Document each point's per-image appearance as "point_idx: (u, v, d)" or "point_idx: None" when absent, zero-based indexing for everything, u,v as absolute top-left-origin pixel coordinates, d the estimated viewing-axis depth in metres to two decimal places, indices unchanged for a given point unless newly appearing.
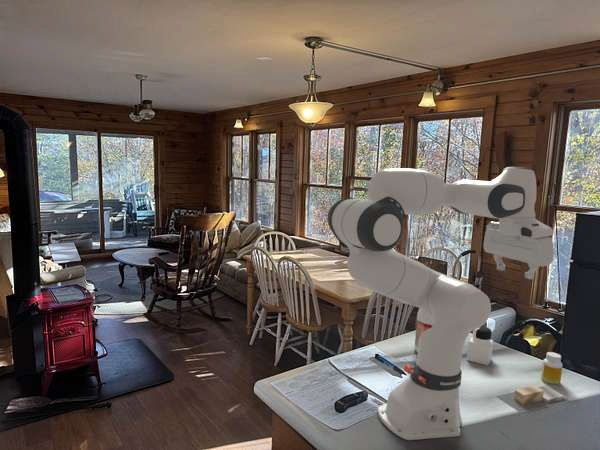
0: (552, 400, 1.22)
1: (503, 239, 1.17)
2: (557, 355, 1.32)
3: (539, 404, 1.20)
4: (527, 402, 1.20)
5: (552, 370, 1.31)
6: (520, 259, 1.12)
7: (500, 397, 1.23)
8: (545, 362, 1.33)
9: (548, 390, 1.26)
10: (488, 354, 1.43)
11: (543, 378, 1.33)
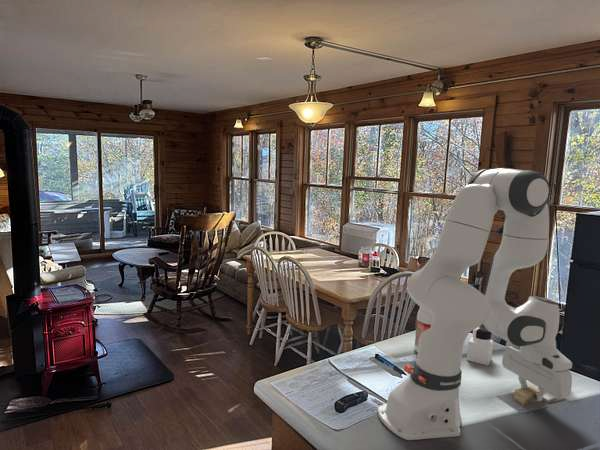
0: (552, 400, 1.22)
1: (522, 360, 1.23)
2: None
3: (539, 404, 1.20)
4: (527, 402, 1.20)
5: None
6: (539, 385, 1.18)
7: (500, 397, 1.23)
8: None
9: None
10: (488, 354, 1.43)
11: None
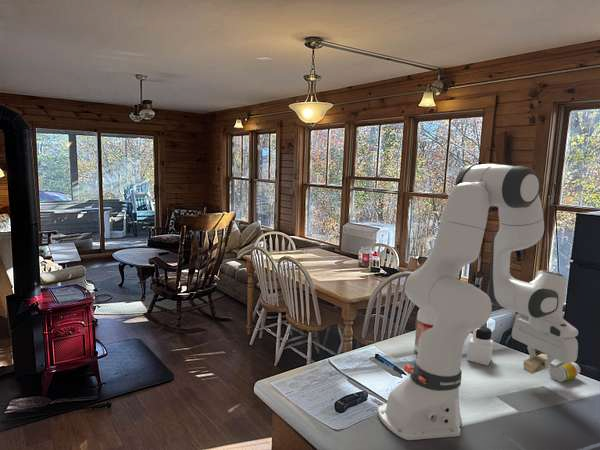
0: (559, 365, 1.30)
1: (531, 331, 1.32)
2: None
3: (539, 404, 1.20)
4: (536, 370, 1.28)
5: (571, 366, 1.36)
6: (547, 352, 1.26)
7: (500, 397, 1.23)
8: None
9: None
10: (488, 354, 1.43)
11: None
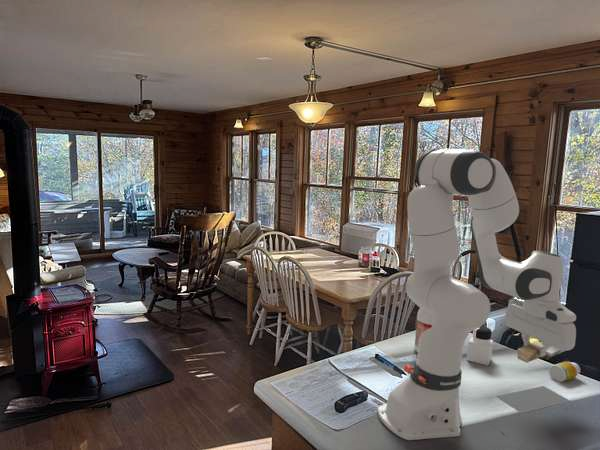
0: (556, 353, 1.21)
1: (525, 316, 1.22)
2: None
3: (539, 404, 1.20)
4: (531, 359, 1.19)
5: (571, 366, 1.36)
6: (542, 339, 1.17)
7: (500, 397, 1.23)
8: None
9: None
10: (488, 354, 1.43)
11: (557, 364, 1.36)
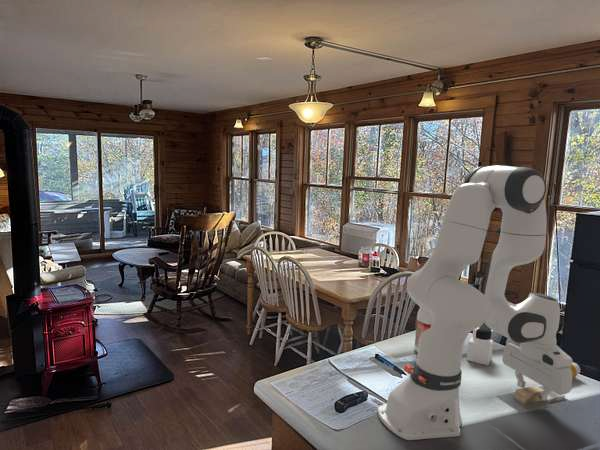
0: (553, 400, 1.22)
1: (523, 357, 1.23)
2: None
3: (539, 404, 1.20)
4: (528, 402, 1.20)
5: (571, 366, 1.36)
6: (539, 382, 1.18)
7: (500, 397, 1.23)
8: None
9: None
10: (488, 354, 1.43)
11: None
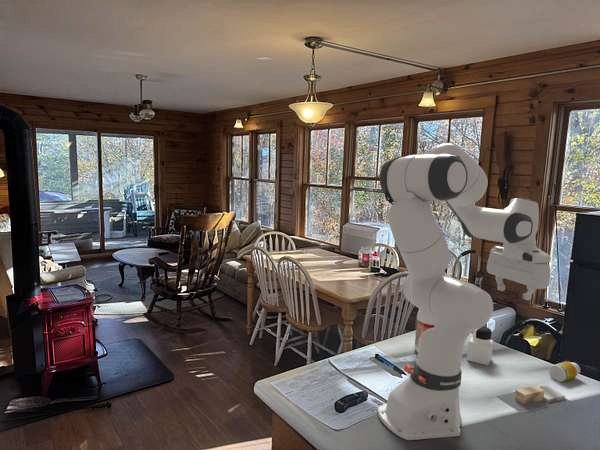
0: (553, 400, 1.22)
1: (505, 262, 1.30)
2: None
3: (539, 404, 1.20)
4: (528, 402, 1.20)
5: (571, 366, 1.36)
6: (520, 281, 1.25)
7: (500, 397, 1.23)
8: None
9: (548, 390, 1.26)
10: (488, 354, 1.43)
11: (557, 364, 1.36)
